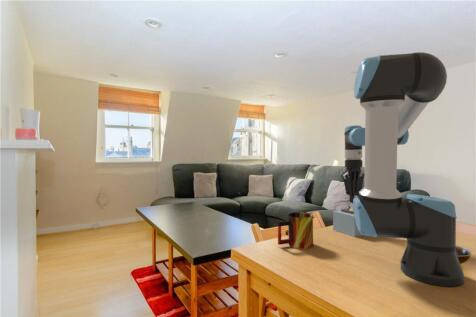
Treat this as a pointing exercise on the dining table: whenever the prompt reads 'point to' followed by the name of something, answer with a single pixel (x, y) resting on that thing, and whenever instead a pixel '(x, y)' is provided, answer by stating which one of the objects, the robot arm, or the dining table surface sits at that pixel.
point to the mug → (298, 230)
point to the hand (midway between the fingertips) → (353, 209)
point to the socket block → (345, 222)
